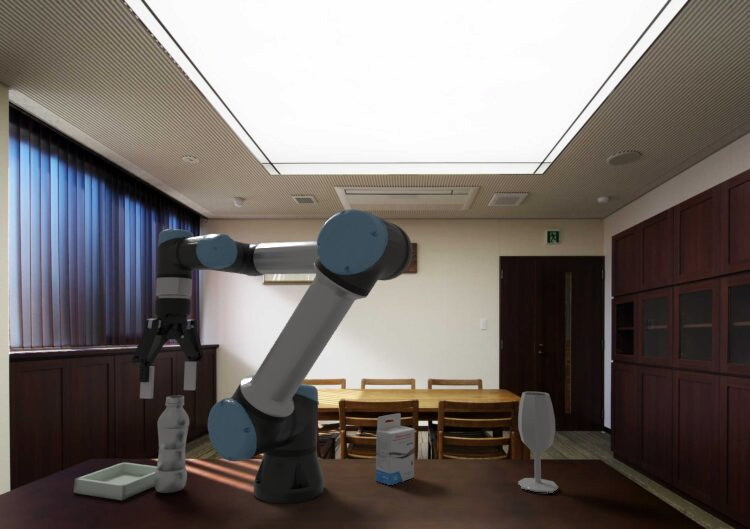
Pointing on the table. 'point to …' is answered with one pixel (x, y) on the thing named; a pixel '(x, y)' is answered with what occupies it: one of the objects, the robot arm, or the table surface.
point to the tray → (117, 481)
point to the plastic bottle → (172, 447)
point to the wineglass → (536, 435)
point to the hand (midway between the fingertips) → (169, 394)
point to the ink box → (394, 450)
